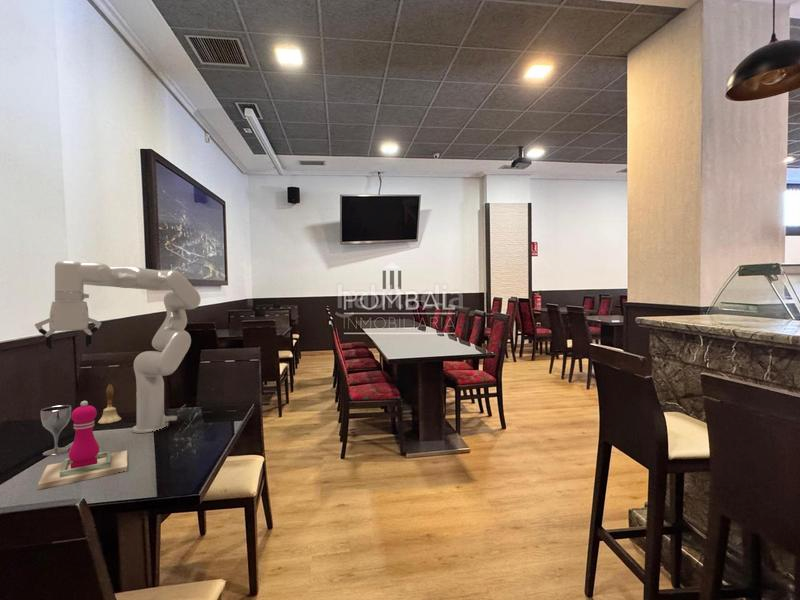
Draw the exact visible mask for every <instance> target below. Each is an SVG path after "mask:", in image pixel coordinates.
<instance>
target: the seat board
mask: <svg viewBox="0 0 800 600" xmlns="http://www.w3.org/2000/svg"><path fill="white" fill-rule="evenodd" d="M95 458H97V464H93V465H88V466H83V467H78V468H72V469H71V463H72V462H73V461H72V460H70V459H69V458H65V459H64V460H63V462H58V463H56V462H55V463H52V464H47V465H46V467H45V469H44V471H43V473H42V475H41V477H40V478H39V481H38V482H37V483H38V484H37V490H38V491H40V490H44V489H49V488H53V487H59V486H64V485H69V484H72V483H77V482H82V481H86V480H92V479H95V478H96V479H97V478H101V477H102V478H103V477H105V476H111V475H115V474H114V473H116V474H119V473H118V472H121V473H124V472H123V471H125V472H128V450H122V451H117V452H112V451H111V450H108V451H102V452H99V453H98V454H97V455H96V457H95Z"/></svg>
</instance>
